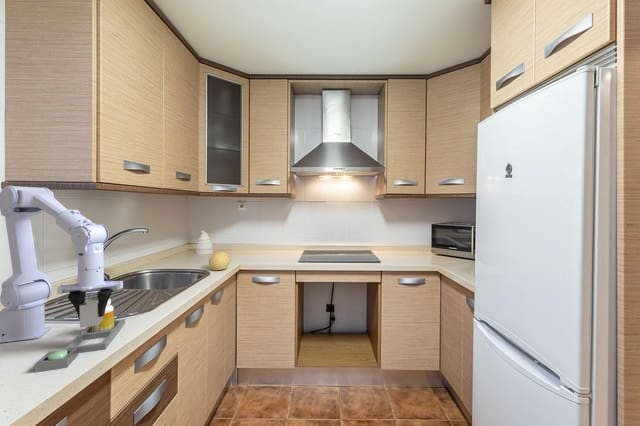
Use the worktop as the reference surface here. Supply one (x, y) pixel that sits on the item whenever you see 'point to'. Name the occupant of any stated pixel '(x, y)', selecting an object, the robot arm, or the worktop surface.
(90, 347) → the pallet frame
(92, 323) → the block
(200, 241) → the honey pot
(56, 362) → the grey square tray
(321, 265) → the worktop surface
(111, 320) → the supplement bottle
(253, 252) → the worktop surface
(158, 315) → the worktop surface
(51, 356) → the button
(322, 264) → the worktop surface
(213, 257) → the yellow round fruit
